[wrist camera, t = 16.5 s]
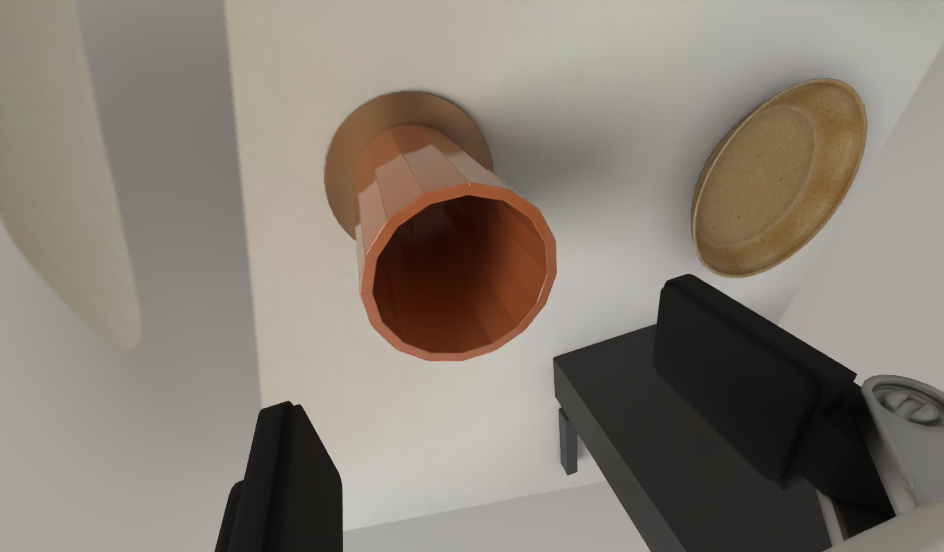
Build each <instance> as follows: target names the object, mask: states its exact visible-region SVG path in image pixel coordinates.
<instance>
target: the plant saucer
mask: <svg viewBox="0 0 944 552" xmlns="http://www.w3.org/2000/svg"><path fill="white" fill-rule="evenodd" d="M866 131H867V117H866V112H865V107H864V105H863V102H862V100H861V99H860V96H859V95H858V94H857V93H856V91H855V90H854V89H853V88H852V87H851V86H849V85H848V84H847V83H845V82H842V81H839V80H836V79H828V78H821V79H812V80H809V81H805V82H802V83H799V84H796V85H794V86H792V87H790V88H788V89H786V90H784V91H782V92H780V93H779V94H777V95H775V96H774V97H772V98H770V99H769V100H767V101H766V102H764V103H763V104H761V105H760V106H759V107H757V108H756V109H755V110H753V111H752V112H751V113H750V114H748V115H747V116H746V117H745V118H744V119H742V120H741V121H740V122H739V123H738V124H737V125H736V126H735V127H734V128H733V129H732V130H731V131H730V132H729V133H728V134H727V135H726V136H725V137H724V139H723V140H722V141H721V142H720V143H719V145H718V146H717V147H716V149H715V150H714V151H713V153H712V155H711V156H710V158H709V159H708V161H707V163H706V165H705V166H704V168H703V170H702V172H701V175H700V177H699V179H698V182H697V185H696V188H695V192H694V196H693V201H692V208H691V232H692V238H693V242H694V246H695V249H696V252H697V255H698V257H699V259H700V260H701V262H702V263H703V264H704V266H705V267H706V268H707V269H709V270H710V271H711V272H713V273H715V274H717V275H719V276H723V277H728V278H744V277H749V276H753V275H755V274H759V273H762V272H764V271H766V270H769V269H771V268H772V267H774V266H777V265H778V264H780V263H781V262H783V261H784V260H786V259H788V258H789V257H791V256H792V255H793V254H795V253H796V252H797V251H798V250H800V249H801V248H802V247H803V246H804V245H805V244H807V243H808V242H809V241H810V240H811V239H812V238H813V237H814V236H815V235H816V234H817V233H818V232H819V231H820V230H821V229H822V228H823V226H824V225H825V224H826V223H827V221H828V220H829V219H830V218H831V216H832V215H833V214H834V212H835V211H836V209H837V208H838V207H839V205H840V204H841V202H842V201H843V199H844V198H845V196H846V194H847V192H848V190H849V188H850V186H851V184H852V182H853V180H854V177H855V175H856V173H857V171H858V168H859V165H860V162H861V158H862V156H863V152H864V148H865V140H866Z"/></svg>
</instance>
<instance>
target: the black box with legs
mask: <svg viewBox="0 0 944 552" xmlns="http://www.w3.org/2000/svg"><path fill="white" fill-rule="evenodd" d="M656 327H657V324H656V325H653V326H650V327H646V328H643V329H640V330H637V331H634V332H631V333H628V334H625V335H622V336H619V337H616V338H613V339H610V340H607V341H603V342H600V343H597V344H594V345H591V346H588V347H585V348H582V349H579V350H576V351H573V352H570V353H567V354H564V355H560V356H557V357H554V358H553V364H554V384H555V397H556V398H557V400H558V402H559V403H560V405H561V407H562V408H561V409H559V427H560V449H561V464H562V466H563V468H564V470H565V472H566V474H567V475H570V474H573V473H576V472H577V433H578V434H579V436H580V437H581V439H582V441H583V442H584V444H585V445H586V447H587V449H588V450H589V452H590V454H591V455H592V457H593V458H594V460H595V462H596V463H597V465H598V467H599V468H600V470H601V471H602V473H603V475H604V476H605V478H606V480H607V481H608V483H609V484H610V486H611V488H612V489H613V491H614V493H615V494H616V496H617V497H618V499H619V501H620V502H621V504H622V506H623V507H624V509H625V510H626V512H627V514H628V515H629V517H630V518H631V520H632V522H633V523H634V525H635V527H636V528H637V530H638V531H639V533H640V535H641V536H642V538H643V539H644V541H645V543H646V544H647V546H648V548H649V549H650V551H651V552H823V551H825V550H827V549H829V548H831V547H832V544H831V541H830V537H829V534H828V530H827V527H826V523H825V520H824V516H823V513H822V509H821V506H820V502H819V499H818V495H817V492H816V488H815V487H814V486H813V485H812V484H811V483H810V482H809V481H807V480H806V479H805V481H804V483H803V484H800V485H798V486H796V487H794V488H792V489H789V490H787V491H785V492H784V491H783V490H782V489H781V488H780V487H779V486H778V485H777V484H776V483H774V482H773V481H772V480H767V479H766V478H764V477H763V476H761V475H760V474H759V473H758V472H757V471H756V470H755V469H754V468H753V467H752V466H751V465H750V464H749V463H748V462H747V461H746V460H745V459H744V458H743V457H742V456H741V455H740V454H739V453H738V452H737V451H736V450H735V449H734V448H733V447H731V446H730V445H729V444H728V443H727V442H726V441H725V440H724V439H723V438H722V437H721V436H720V435H719V434H718V433H717V432H716V431H715V430H714V429H713V428H712V427H711V426H710V425H709V424H708V423H707V422H706V421H705V420H704V419H703V418H702V417H701V416H700V415H699V414H698V413H697V412H696V411H695V410H694V409H693V408H692V407H691V406H690V405H689V404H688V403H687V402H686V401H685V400H684V399H683V398H682V397H681V396H680V395H679V394H678V393H676V392H675V391H674V390H673V389H672V388H671V387H670V386H669V385H668V384H667V383H666V382H665V381H664V380H663V379H662V378H661V377H660V376H659V375H658V374H657V372H656V371H655V369H654V367H653V352H654V344H655V335H656Z"/></svg>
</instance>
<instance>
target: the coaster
mask: <svg viewBox="0 0 944 552" xmlns="http://www.w3.org/2000/svg"><path fill="white" fill-rule="evenodd" d="M404 124H418V125H424V126H428V127H431V128H433V129H437V130H439V131H440V132H441V133H443V134H444V135H446V136H447V137H448V138H450V139H451V140H453V141H454V142H455V143H457V144H458V145H459V146H460V147H462V148H463V149H464V150H465V151H467V152H468V153H469V154H470V155H472V156H473V157H474V158H475V159H477V160H478V161H479V162H480V163H482V164H483V165H484V166H485V167H487V168H488V169H489V170H490V171H492V172H493V167H492V160H491V155H490V152H489V149H488V146H487V143H486V141H485V139H484V137H483V135H482V133H481V132H480V130H479V129H478V127H477V125H476V124H475V123H474V122H473V121H472V120H471V118H470V117H469V116H468V115H466V114H465V113H464V112H463V111H462V110H461V109H459V108H458V107H456V106H455V105H454V104H452V103H450V102H448V101H446V100H444V99H442V98H440V97H437V96H434V95H431V94H428V93H422V92H417V91H400V92H392V93H388V94H384V95H381V96H378V97H376V98H374V99H371V100H369V101H367V102H366V103H364V104H362V105H361V106H359V107H358V108H357V109H355V110H354V111H353V112H352V113H351V114H350V115H349V116H348V117H347V118H346V119H345V120H344V121H343V122H342V123H341V125H340V126H339V128H338V129H337V131H336V133H335V134H334V136H333V138H332V141H331V143H330V145H329V148H328V152H327V155H326V160H325V167H324V184H325V191H326V195H327V199H328V202H329V205H330V207H331V210H332V212H333V214H334V216H335V217H336V219H337V221H338V222H339V224H340V225H341V226H342V227H343V229H344V230H345V231H346V232H347V233H348V234H349V235H350V236H351V237H352V238H353V239H354V240H355V241H356V229H355V215H354V200H353V180H354V170H355V166H356V163H357V160H358V158H359V156H360V154H361V152H362V150H363V149H364V147H365V146H366V145H367V144H368V143H369V142H370V140H372V139H373V138H374V137H375V136H376V135H378V134H379V133H381V132H383V131H384V130H386V129H389V128H391V127H394V126H398V125H404Z"/></svg>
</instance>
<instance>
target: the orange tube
mask: <svg viewBox="0 0 944 552" xmlns="http://www.w3.org/2000/svg"><path fill="white" fill-rule="evenodd" d="M353 200H354V215H355V229H356V244H357V259H358V273H359V288H360V296H361V299H362V301H363V304H364V307H365V310H366V312H367V315H368V318H369V321H370V323H371V325H372V327H373V328H374V329H375V330H376V331H377V332H378V333H379V334H380V335H381V336H382V337H383V338H385V339H386V340H387V341H388V342H389V343H390V344H391V345H392V346H393V347H394V348H395V349H397V350H399V351H402V352H404V353H407V354H410V355H413V356H415V357H418V358H421V359H424V360H426V361H427V360H428V361H464V360H467V359H470V358H473V357H476V356H479V355H483V354H486V353H489V352H492V351H495V350H497V349H498V348H500V347H501V346H503V345H504V344H506V343H507V342H509V341H510V340H512V339H513V338H514V337H516V336H517V335H519V334H520V333H522V332H523V331H524V330H525V329H526V328H527V327H528V325H529V324H530V323H531V322H532V321H533V319H534V318H535V317H536V316H537V314H538V313H539V312H540V311H541V309H542V308H543V307H544V306H545V304H546V302H547V299H548V296H549V293H550V291H551V288H552V285H553V282H554V280H555V277H556V273H557V266H556V241H555V238H554V236H553V234H552V232H551V230H550V229H549V227H548V225H547V223H546V221H545V219H544V217H543V215H542V213H541V212H540V210H539V209H538V208H537V207H535V206H534V205H533V204H532V203H530V202H529V201H528V200H527V199H525V198H524V197H523V196H522V195H520V194H519V193H518V192H517V191H515V190H514V189H513V188H512V187H510V186H509V185H508V184H507V183H505V182H504V181H503V180H502V179H500V178H499V177H498V176H497V175H495V174H494V173H493V172H492V171H490V170H489V169H488V168H487V167H485V166H484V165H483V164H482V163H480V162H479V161H478V160H477V159H475V158H474V157H473V156H472V155H470V154H469V153H468V152H467V151H465V150H464V149H463V148H462V147H460V146H459V145H458V144H457V143H455V142H454V141H453V140H451V139H450V138H448V137H447V136H446V135H444V134H443V133H441V132H440V131H439V130H437V129H433V128H431V127H428V126H424V125H418V124H404V125H398V126H394V127H391V128H389V129H386V130H384V131H383V132H381V133H379V134H378V135H376V136H375V137H374V138H373V139H372V140H370V142H369V143H368V144H367V145H366V146H365V147H364V149H363V150H362V152H361V154H360V156H359V158H358V160H357V163H356V166H355V170H354V180H353Z"/></svg>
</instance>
